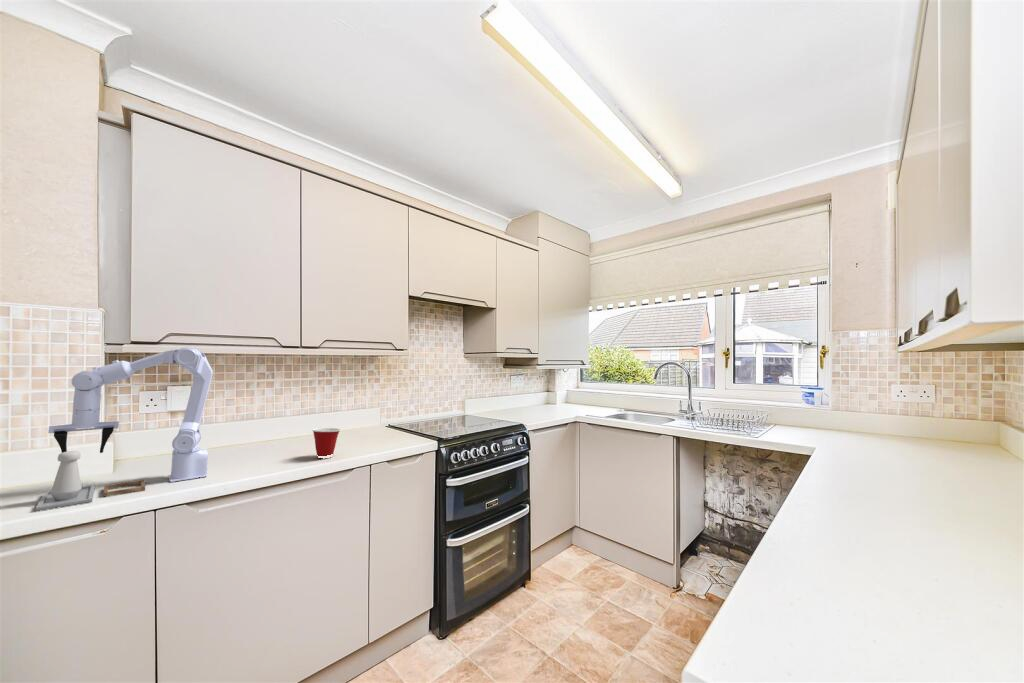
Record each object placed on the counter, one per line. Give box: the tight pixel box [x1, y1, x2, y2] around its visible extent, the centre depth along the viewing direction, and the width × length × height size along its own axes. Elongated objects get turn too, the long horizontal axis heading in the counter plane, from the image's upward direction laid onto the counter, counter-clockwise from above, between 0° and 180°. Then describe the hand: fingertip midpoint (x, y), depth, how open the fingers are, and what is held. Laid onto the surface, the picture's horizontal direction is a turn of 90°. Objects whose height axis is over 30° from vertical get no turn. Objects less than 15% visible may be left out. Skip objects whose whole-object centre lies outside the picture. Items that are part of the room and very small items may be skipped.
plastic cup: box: [311, 427, 341, 456], centre depth 163 cm, size 11×11×12 cm
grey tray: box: [35, 484, 96, 512], centre depth 111 cm, size 10×16×1 cm, turn 45°
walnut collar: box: [102, 479, 146, 498], centre depth 119 cm, size 9×9×1 cm
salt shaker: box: [50, 450, 83, 501], centre depth 110 cm, size 6×6×13 cm
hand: (83, 454), depth 120 cm, fingers open, 7 cm apart
